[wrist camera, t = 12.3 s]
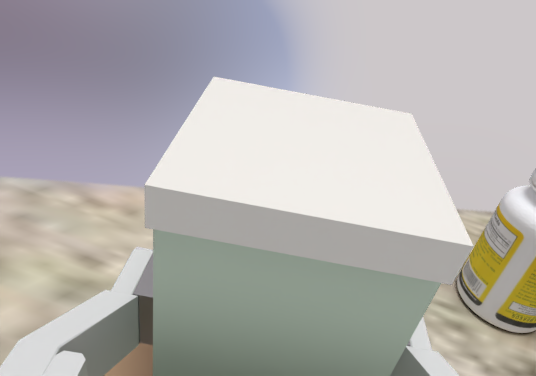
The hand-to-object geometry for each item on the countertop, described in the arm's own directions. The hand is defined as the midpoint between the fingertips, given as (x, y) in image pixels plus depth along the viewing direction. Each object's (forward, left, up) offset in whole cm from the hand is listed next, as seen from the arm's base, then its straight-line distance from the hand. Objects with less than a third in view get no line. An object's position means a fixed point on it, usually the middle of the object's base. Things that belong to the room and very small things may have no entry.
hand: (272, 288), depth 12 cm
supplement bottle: (+19, +1, -10) cm, 22 cm away
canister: (-1, -1, -5) cm, 6 cm away
